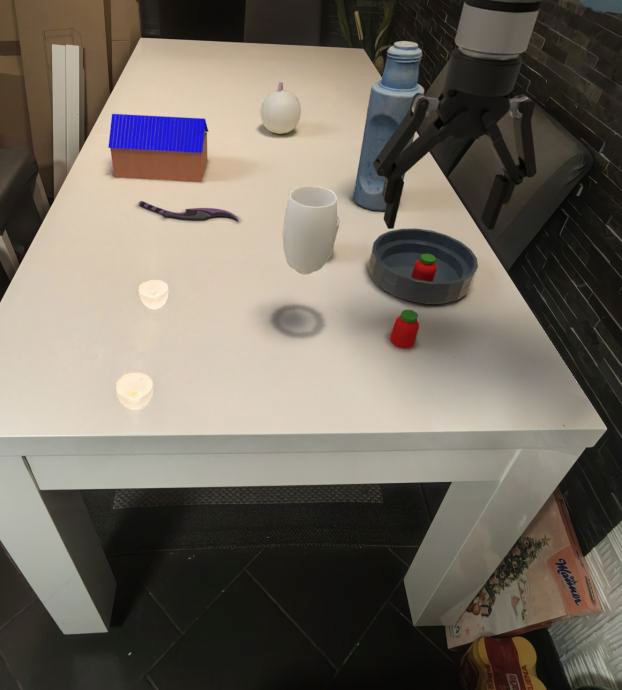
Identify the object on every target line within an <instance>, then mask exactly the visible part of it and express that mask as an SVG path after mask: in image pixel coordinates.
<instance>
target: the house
mask: <svg viewBox="0 0 622 690" xmlns="http://www.w3.org/2000/svg"><path fill="white" fill-rule="evenodd" d="M110 118H111V120H110V129H109V138H108V146H107V148H108V149H109V150H110V157H111V163H112V172H113V177H114V178H124V179H141V180H161V181H176V182H177V181H178V182H196V183H197V182H198V183H202V182H203V178H204V175H205V172H206V168H207V164H208V133H209V128H208V125H207V120H206V118H203V117H202V118H201V117H183V116H182V117H181V116H165V115H163V116H161V115H146V114H145V115H143V114H126V113H125V114H124V113H122V114H121V113H111V117H110Z"/></svg>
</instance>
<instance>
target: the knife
mask: <svg viewBox="0 0 622 690" xmlns="http://www.w3.org/2000/svg"><path fill="white" fill-rule="evenodd" d="M138 205H139V206H141V207H142V208H145V209H148V210H151V211H153V212H156V213H158V214H162V216H163V218H169V217H170V218H176V219H181V220H193V221H194V220H197V221H205V220H207V219H209V218H214V217H215V218H216V217H225V218H231V219H233V220H235V221H237V222H239V218H238V216H236V214H234V213H232V212H230V211H228V210H225V209H221V208H214V207H195V208H185V211H183V212H174V211H170V210H166V209H164V208H161V207H158V206H156V205H153V204H150V203H148V202H146V201H143V200H139V202H138Z"/></svg>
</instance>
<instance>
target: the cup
mask: <svg viewBox="0 0 622 690" xmlns="http://www.w3.org/2000/svg"><path fill="white" fill-rule="evenodd" d="M337 217H338V197H337V195H336V193H334V191H332V190H330V189H329V188H326V187H322V186H318V185H302V186H297V187H295V188H294V189H292V190H291V191H290V192H289V196H288V198H287V202H286V206H285V210H284V219H283V226H282V247H283V252H284V253H283V254H284V257H285V260H286V264H287V265H288V266H289V267H290V268H291V269H293V270H294V271H296V272H297V273H298V274H301V275H310V274H313V273H315V272H318V271H320V270H322V269H323V267H324V266H325V264H326V262H327V261H328V260H329V259H328V257H329V255H330V252H331V249H332V246H333V243H334V241H335V242H336V239H335V235H336V226H337ZM336 236H337V235H336ZM334 244H335V243H334ZM327 259H328V260H327ZM326 260H327V261H326Z"/></svg>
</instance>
